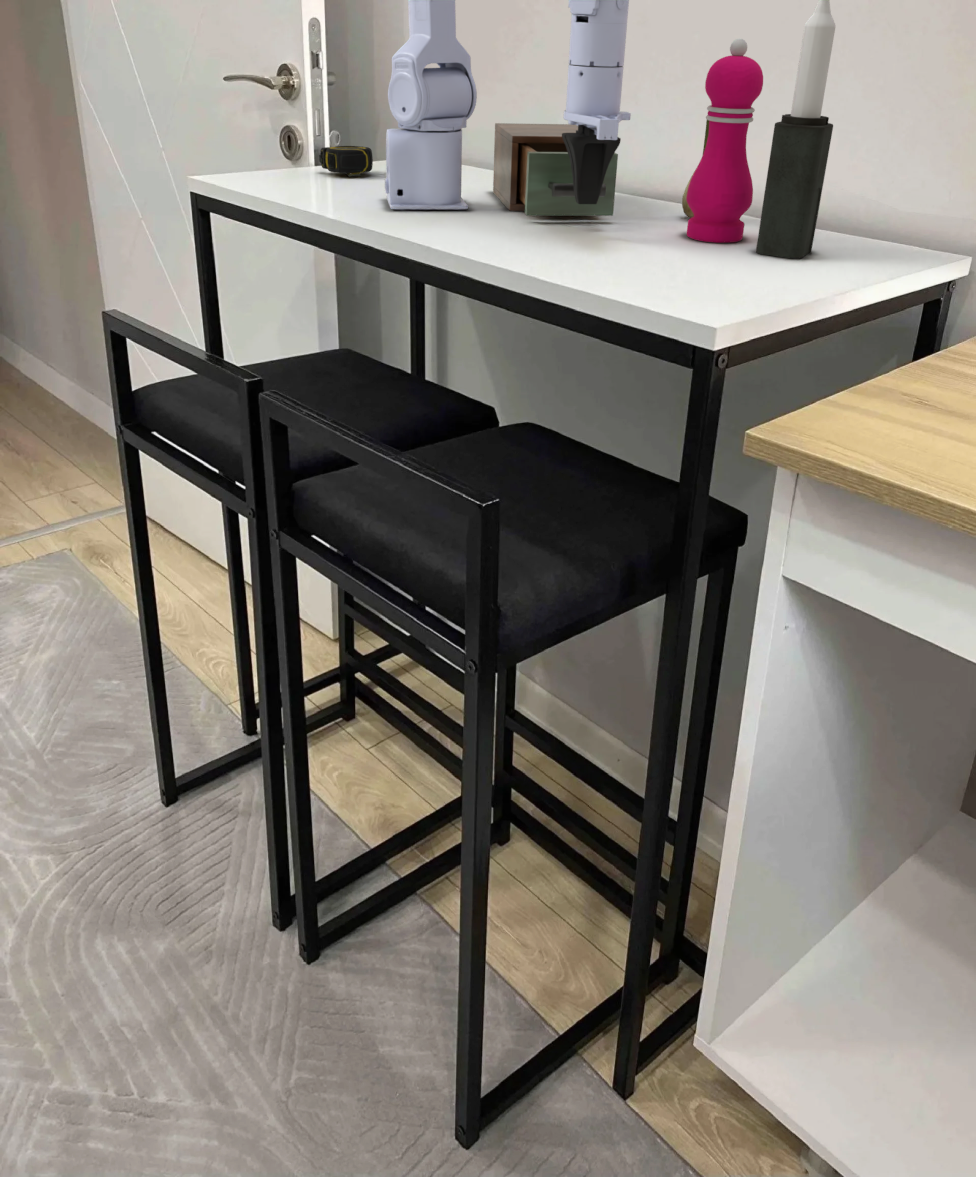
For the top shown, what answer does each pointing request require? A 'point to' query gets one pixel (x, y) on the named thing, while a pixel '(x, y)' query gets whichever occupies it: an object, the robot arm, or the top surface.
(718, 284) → the top surface
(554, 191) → the drawer
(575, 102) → the robot arm
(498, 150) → the cabinet
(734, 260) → the top surface
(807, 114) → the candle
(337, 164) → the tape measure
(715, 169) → the pepper mill
